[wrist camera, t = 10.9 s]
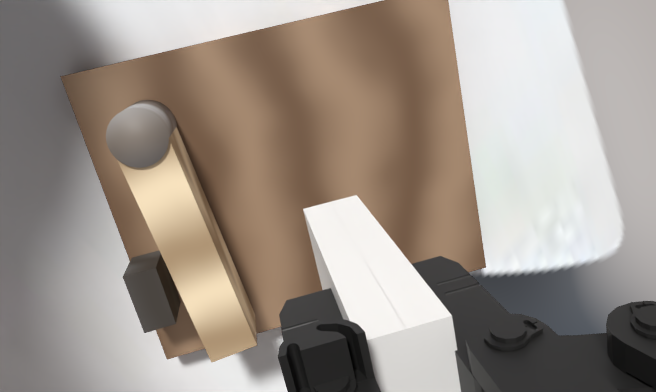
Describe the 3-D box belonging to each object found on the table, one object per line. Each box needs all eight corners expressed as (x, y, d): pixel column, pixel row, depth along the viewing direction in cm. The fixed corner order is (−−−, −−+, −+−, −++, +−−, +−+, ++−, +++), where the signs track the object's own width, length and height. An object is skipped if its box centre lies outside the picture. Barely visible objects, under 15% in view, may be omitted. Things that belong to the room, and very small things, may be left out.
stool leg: (113, 109, 32) (95, 120, 28) (164, 92, 32) (153, 100, 28) (212, 328, 37) (210, 364, 33) (256, 312, 37) (258, 346, 33)
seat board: (170, 343, 39) (161, 385, 34) (70, 74, 33) (42, 80, 28) (474, 256, 41) (505, 284, 37) (434, -12, 35) (465, -20, 30)
